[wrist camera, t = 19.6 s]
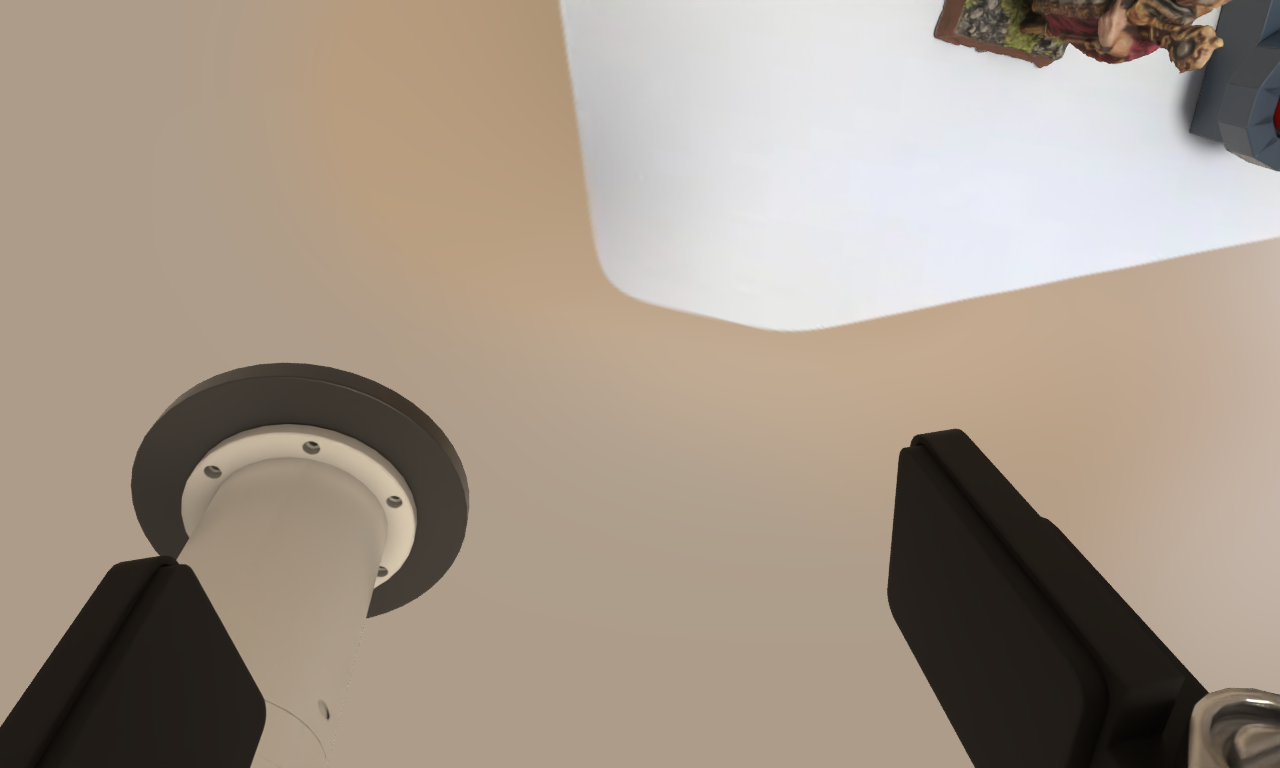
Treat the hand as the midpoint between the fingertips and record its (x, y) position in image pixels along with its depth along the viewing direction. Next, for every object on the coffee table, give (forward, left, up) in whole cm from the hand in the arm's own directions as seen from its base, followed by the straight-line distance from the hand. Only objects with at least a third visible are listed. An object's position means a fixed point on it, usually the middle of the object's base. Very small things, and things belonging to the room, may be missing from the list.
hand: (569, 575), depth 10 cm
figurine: (+12, -19, -30) cm, 38 cm away
